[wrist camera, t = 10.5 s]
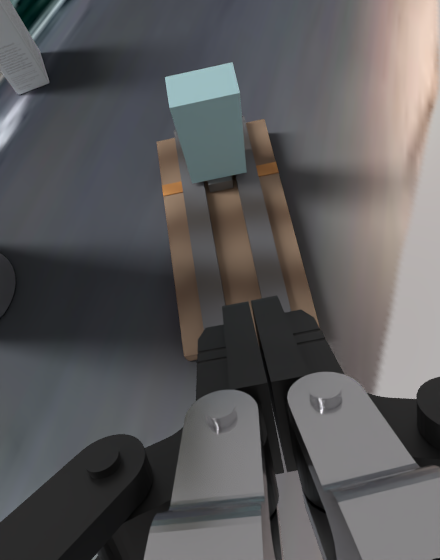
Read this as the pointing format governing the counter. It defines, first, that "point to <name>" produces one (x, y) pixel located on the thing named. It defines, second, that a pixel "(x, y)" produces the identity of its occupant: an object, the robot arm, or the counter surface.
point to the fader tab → (209, 124)
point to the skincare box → (19, 52)
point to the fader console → (230, 238)
